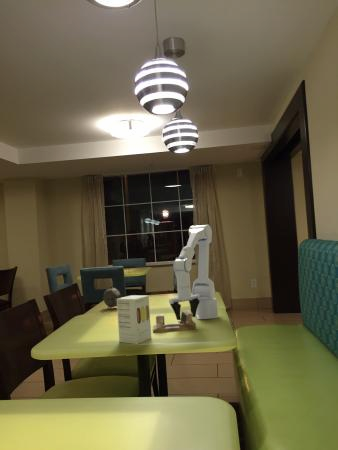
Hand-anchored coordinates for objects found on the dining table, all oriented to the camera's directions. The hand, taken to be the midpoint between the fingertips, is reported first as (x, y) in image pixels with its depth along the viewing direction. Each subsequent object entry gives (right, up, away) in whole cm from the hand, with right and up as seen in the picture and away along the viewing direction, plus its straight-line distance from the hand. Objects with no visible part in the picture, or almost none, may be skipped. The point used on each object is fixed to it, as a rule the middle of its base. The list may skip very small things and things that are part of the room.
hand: (186, 318), depth 156 cm
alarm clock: (-41, -10, +59) cm, 72 cm away
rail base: (-5, -4, 0) cm, 7 cm away
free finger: (0, -2, 0) cm, 2 cm away
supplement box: (-20, -5, -14) cm, 25 cm away
